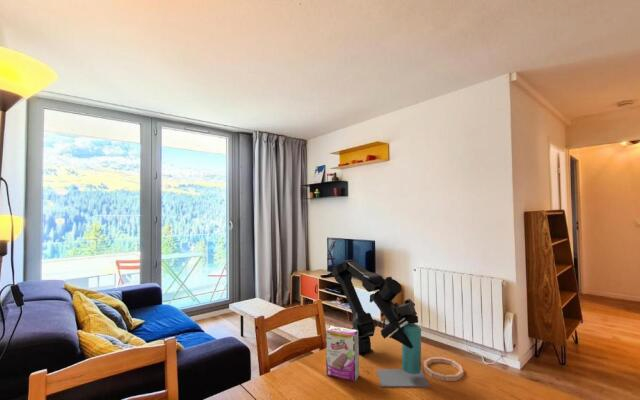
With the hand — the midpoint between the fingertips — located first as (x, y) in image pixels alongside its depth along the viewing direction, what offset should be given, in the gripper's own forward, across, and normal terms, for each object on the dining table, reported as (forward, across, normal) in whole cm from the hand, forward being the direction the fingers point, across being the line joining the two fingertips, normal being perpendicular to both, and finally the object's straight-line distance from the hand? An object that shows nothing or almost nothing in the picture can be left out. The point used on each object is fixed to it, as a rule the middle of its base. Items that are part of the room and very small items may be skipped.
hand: (415, 344), depth 104 cm
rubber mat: (+6, -3, +12) cm, 13 cm away
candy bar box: (-6, -14, +24) cm, 29 cm away
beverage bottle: (+6, -2, +8) cm, 11 cm away
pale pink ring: (+12, +11, +5) cm, 17 cm away
